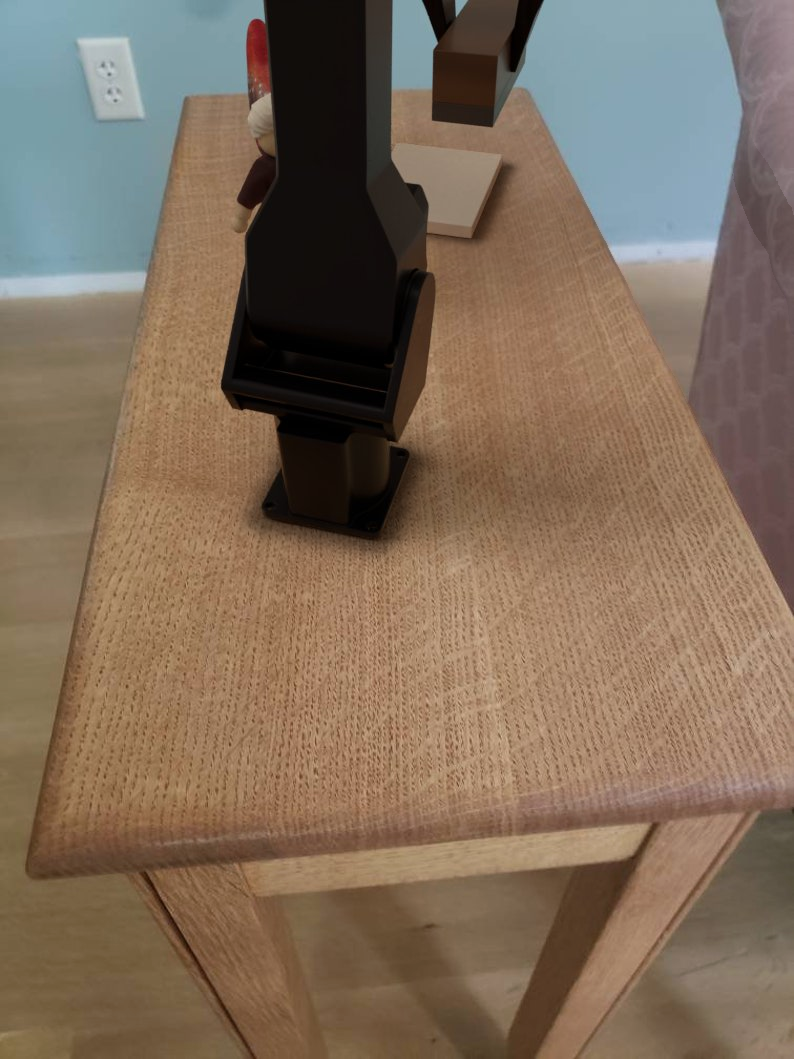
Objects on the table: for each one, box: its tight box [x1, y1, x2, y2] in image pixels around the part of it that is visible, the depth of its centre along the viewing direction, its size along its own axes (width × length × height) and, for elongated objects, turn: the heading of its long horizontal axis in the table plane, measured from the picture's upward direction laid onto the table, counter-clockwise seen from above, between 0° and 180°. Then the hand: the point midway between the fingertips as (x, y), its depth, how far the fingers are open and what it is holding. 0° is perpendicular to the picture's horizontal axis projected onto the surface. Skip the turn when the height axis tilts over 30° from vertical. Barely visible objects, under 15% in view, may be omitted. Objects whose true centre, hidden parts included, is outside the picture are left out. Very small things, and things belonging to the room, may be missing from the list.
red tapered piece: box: [245, 18, 271, 156], centre depth 65 cm, size 3×18×10 cm, turn 10°
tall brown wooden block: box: [431, 0, 528, 128], centre depth 56 cm, size 11×4×4 cm, turn 164°
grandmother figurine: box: [231, 93, 276, 234], centre depth 55 cm, size 8×4×13 cm, turn 143°
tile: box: [391, 142, 504, 239], centre depth 67 cm, size 12×9×1 cm
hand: (482, 67), depth 57 cm, fingers closed on tall brown wooden block, 4 cm apart
